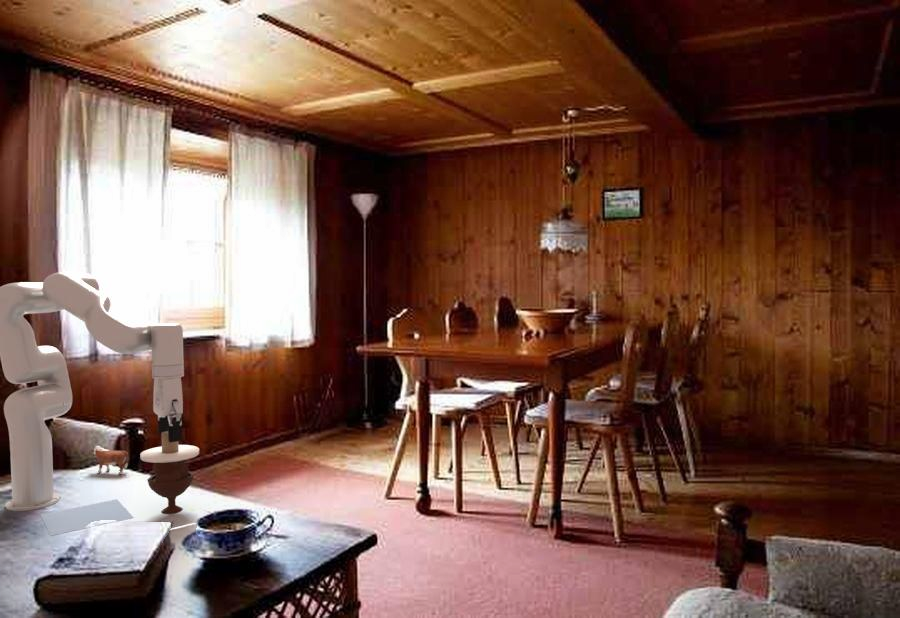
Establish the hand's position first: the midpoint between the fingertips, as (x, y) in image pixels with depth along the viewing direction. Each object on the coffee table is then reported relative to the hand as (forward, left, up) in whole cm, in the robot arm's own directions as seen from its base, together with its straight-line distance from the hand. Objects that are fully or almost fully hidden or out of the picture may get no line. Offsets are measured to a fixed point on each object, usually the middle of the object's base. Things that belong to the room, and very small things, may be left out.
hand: (169, 437), depth 169 cm
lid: (0, 0, -5) cm, 5 cm away
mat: (-10, -18, -20) cm, 28 cm away
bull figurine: (-50, -4, -20) cm, 54 cm away
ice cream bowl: (0, 0, -20) cm, 20 cm away
